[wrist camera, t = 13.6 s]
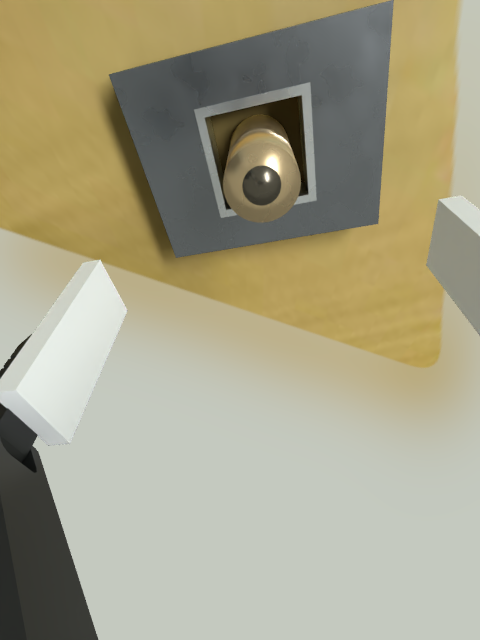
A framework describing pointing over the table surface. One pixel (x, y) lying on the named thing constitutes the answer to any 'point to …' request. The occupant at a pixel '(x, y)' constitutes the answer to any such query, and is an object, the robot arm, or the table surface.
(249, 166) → the brass domed cylinder
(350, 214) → the plate
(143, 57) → the table surface
